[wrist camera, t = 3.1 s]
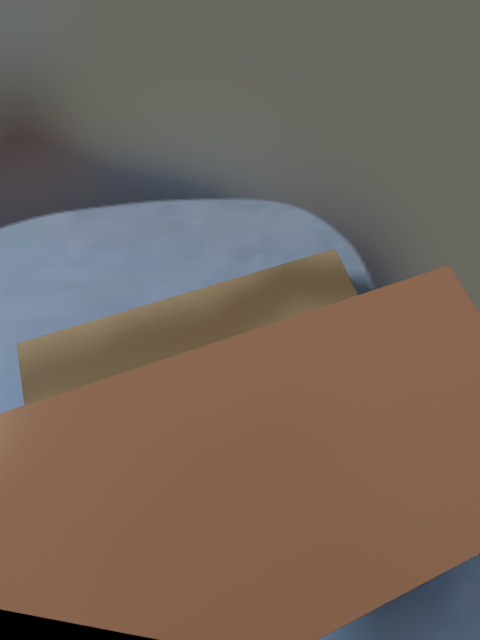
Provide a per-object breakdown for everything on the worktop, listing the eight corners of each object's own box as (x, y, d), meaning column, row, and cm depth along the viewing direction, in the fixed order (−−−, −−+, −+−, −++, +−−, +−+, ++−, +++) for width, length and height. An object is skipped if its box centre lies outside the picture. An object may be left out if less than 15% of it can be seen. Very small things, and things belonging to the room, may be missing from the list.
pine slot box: (401, 467, 14) (455, 489, 11) (105, 600, 12) (59, 678, 9) (313, 277, 17) (335, 248, 14) (63, 355, 15) (16, 343, 12)
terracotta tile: (285, 413, 15) (590, 494, 2) (182, 453, 14) (-150, 888, 2) (269, 371, 16) (449, 264, 3) (169, 406, 15) (-139, 459, 2)
